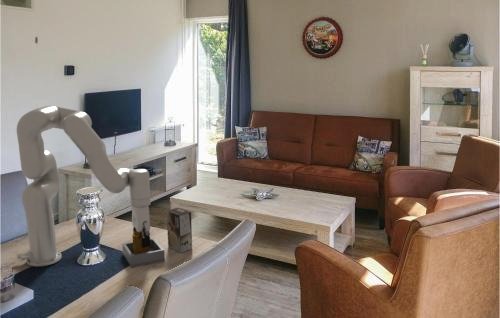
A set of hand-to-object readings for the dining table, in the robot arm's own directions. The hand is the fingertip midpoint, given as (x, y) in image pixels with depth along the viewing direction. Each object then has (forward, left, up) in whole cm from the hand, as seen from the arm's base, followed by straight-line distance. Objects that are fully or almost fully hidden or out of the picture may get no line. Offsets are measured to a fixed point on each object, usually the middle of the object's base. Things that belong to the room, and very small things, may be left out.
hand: (142, 242), depth 182 cm
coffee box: (+16, +2, -6) cm, 17 cm away
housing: (0, 0, -6) cm, 6 cm away
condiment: (0, 0, -5) cm, 6 cm away
